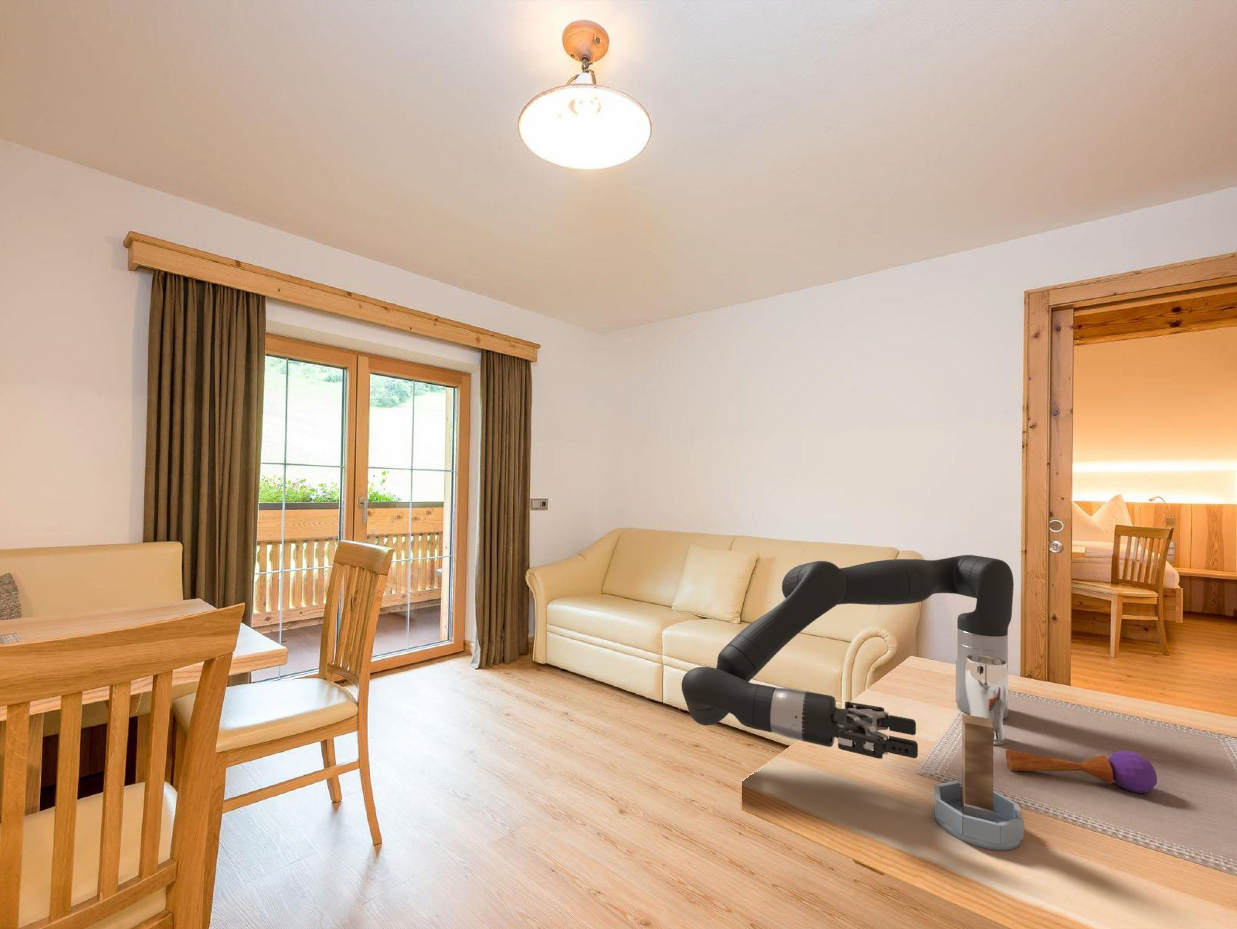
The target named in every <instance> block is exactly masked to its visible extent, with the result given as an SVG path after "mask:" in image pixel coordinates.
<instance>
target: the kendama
mask: <svg viewBox="0 0 1237 929" xmlns="http://www.w3.org/2000/svg"><path fill="white" fill-rule="evenodd" d="M1005 759H1006V764H1007V767H1008V768H1009V770H1010V771H1011V772H1030V771H1031V772H1047V771H1048V772H1051V771H1054V772H1061V771H1063V772H1064V771H1066V772H1067V771H1070V772H1071V771H1074V772H1076V771H1077V772H1078V771H1081V772H1084V773H1087V774H1088V775H1090V776H1093V777H1094V778H1097V779H1099V780H1101V781H1103V782H1105V783H1107V784H1109V785H1110V784H1113V782H1114V783H1116V784H1117V785H1118V786H1119V787H1120V788H1122V789H1124V790H1127V791H1129V792H1131V793H1138V794H1145V793H1147V792H1151V791H1152V790H1153V789H1154V788H1155V786H1156V785H1157V784H1158V775H1157V772H1156V770H1155V768H1154V766H1153V764H1152V763H1151V762H1150V761H1149V760H1148V759H1146V758H1145V757H1144V756H1142V755H1141V754H1138V753H1136V752H1134V751H1127V750H1126V751H1124V750H1119V751H1117V752H1113V753H1112V754H1111V755H1110V756H1109V757H1107V756H1106V755H1104V754H1101V755H1098V756H1096V757H1093V758H1091V759H1088V760H1085V761H1082V762H1077V761H1071V760H1063V759H1059V758H1054V757H1049V756H1043V755H1038V754H1032V753H1027V752H1023V751H1022V752H1021V751H1017V750H1012V749H1006V750H1005Z"/></svg>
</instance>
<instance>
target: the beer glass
mask: <svg viewBox="0 0 1237 929" xmlns="http://www.w3.org/2000/svg"><path fill="white" fill-rule="evenodd" d="M965 685H966V692H967V698H968V703H969V708H970V714H969V715H971V716H977V717H983V718H989V719H990V721H991V723H992V725H993V728H994V746H1000V745H1001V746H1002V745H1004V744H1005V743H1006V737H1005V732H1004V726H1003V724H1004V719H1003V715H1004V710H1005V706H1006V701H1007V695H1008V696H1009V672H1008V673H1007V663H1006V662H1005V661H1004V660H1002V659H999V658H996V657H991V656H986V655H968V656H967V661H966V671H965Z"/></svg>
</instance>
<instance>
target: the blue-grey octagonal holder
mask: <svg viewBox="0 0 1237 929" xmlns="http://www.w3.org/2000/svg"><path fill="white" fill-rule="evenodd" d="M933 787H934V788H933V791H934V793H933V794H934V816H935V818H934V819H935V821H936V822H937V823H938V825H939V826H940V828H942V829H943V830H945V832H947V833H948V834H950V835H951V836H953V837H955V838H956V839H957V840H960V841H962V842H964V843H967V844H969V845H972V846H975V847H978V848H981V849H986V850H991V851H1004V852H1005V851H1012V850H1016V849H1018V848H1019V847H1020V846H1021V844H1022V842H1023V841H1022V840H1024V839H1025V819H1024V817H1023V814H1022V812H1021V809H1020V805H1019V804H1018V803H1017V802H1015V801H1013V800H1011V799H1010V798H1008V797H1006V796H1005V795H1003V794H1001V793H999V792H997V791H995V790H994V789H993V810H989V809H985V808H980V807H976V806H972V805H968V804H964V814H963V812H962V781H958V780H953V781H947V782H942V783H939V784H934V786H933Z"/></svg>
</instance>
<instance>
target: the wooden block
mask: <svg viewBox="0 0 1237 929" xmlns="http://www.w3.org/2000/svg"><path fill="white" fill-rule="evenodd" d="M961 716H962V718H961V720H962V721H961V722H962V723H961V724H962V725H961V729H962V730H961V731H962V734H961V736H962V737H961V753H962V754H961V782H962V812H963V814H964V804H968V805H972V806H976V807H980V808H985V809H989V810H993V790H994V746H995V745H994V728H993V725H992V723H991V721H990V719H989V718H983V717H977V716H971V715H970V714H966V713H962V714H961Z"/></svg>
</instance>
